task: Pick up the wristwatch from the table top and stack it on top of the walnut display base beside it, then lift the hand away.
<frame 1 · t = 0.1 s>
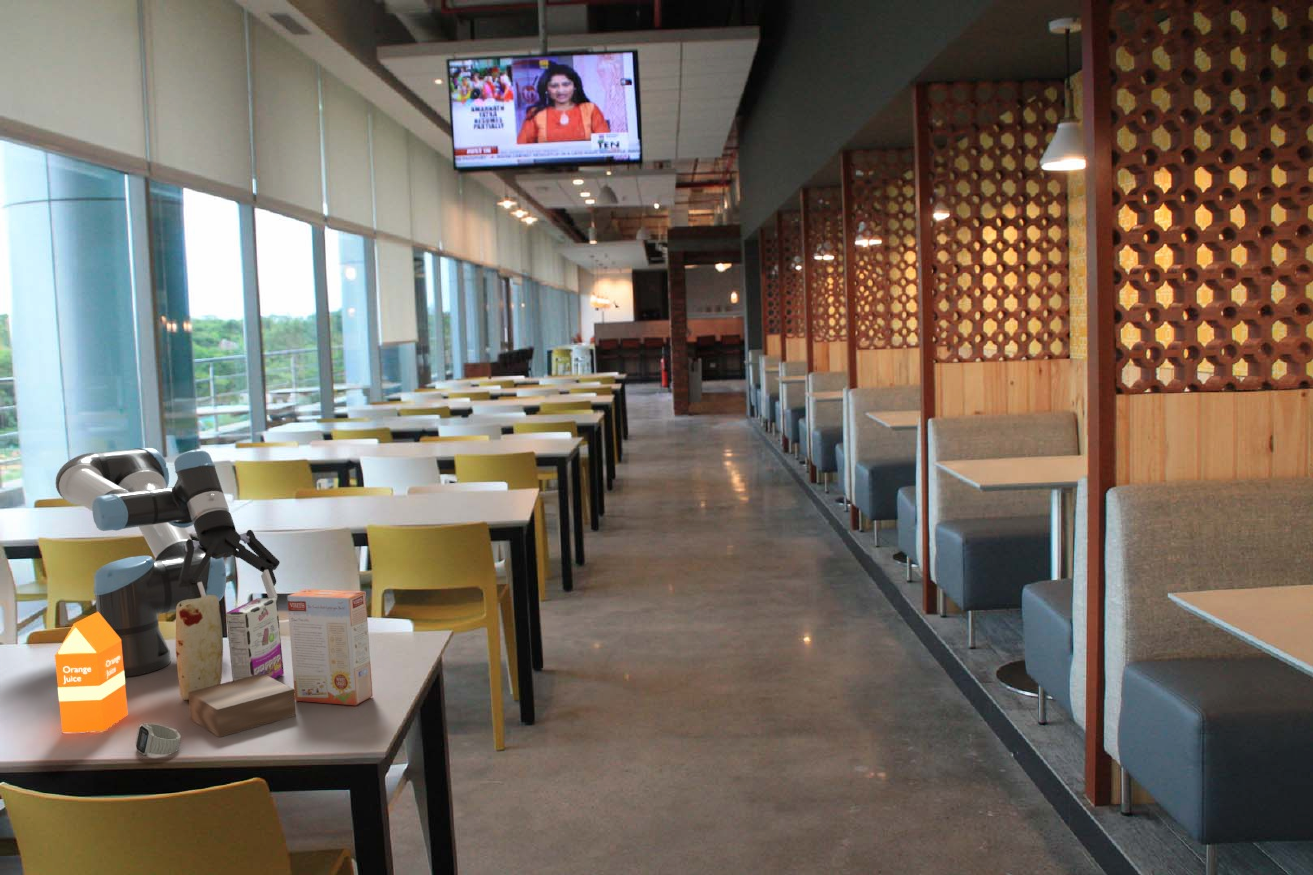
hand: (241, 606, 214), 15 cm above the table, tool tilted 35°, fingers open, 13 cm apart
walnut base: (243, 716, 194), on the table
orange juice: (96, 724, 194), on the table
wristwatch: (159, 750, 180), on the table
cracker box: (334, 700, 202), on the table
candy bar box: (258, 684, 213), on the table
food model: (201, 696, 207), on the table, touching gripper
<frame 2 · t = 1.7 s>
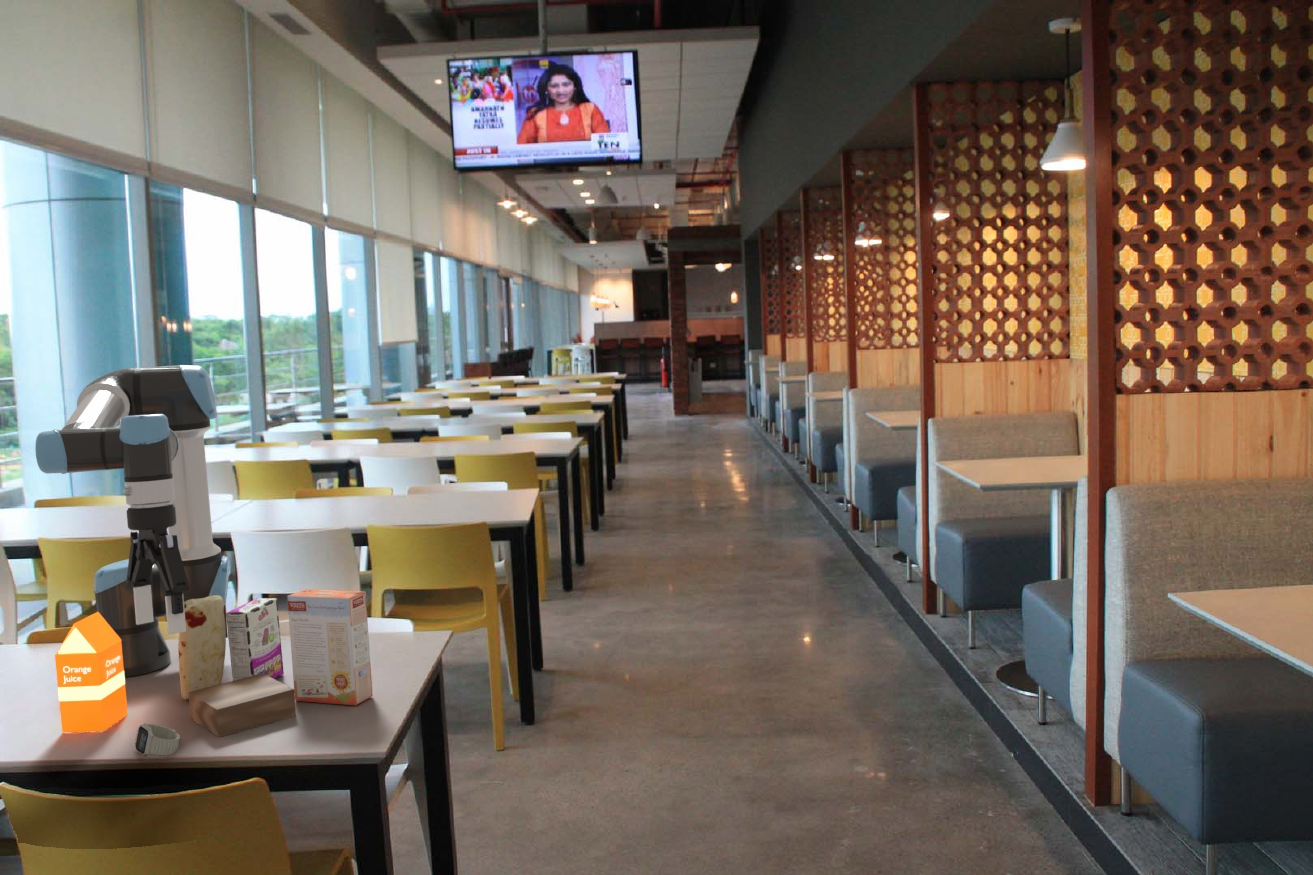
hand: (160, 627, 181), 20 cm above the table, tool pointing down, fingers open, 13 cm apart
food model: (202, 695, 207), on the table
everything else where it was.
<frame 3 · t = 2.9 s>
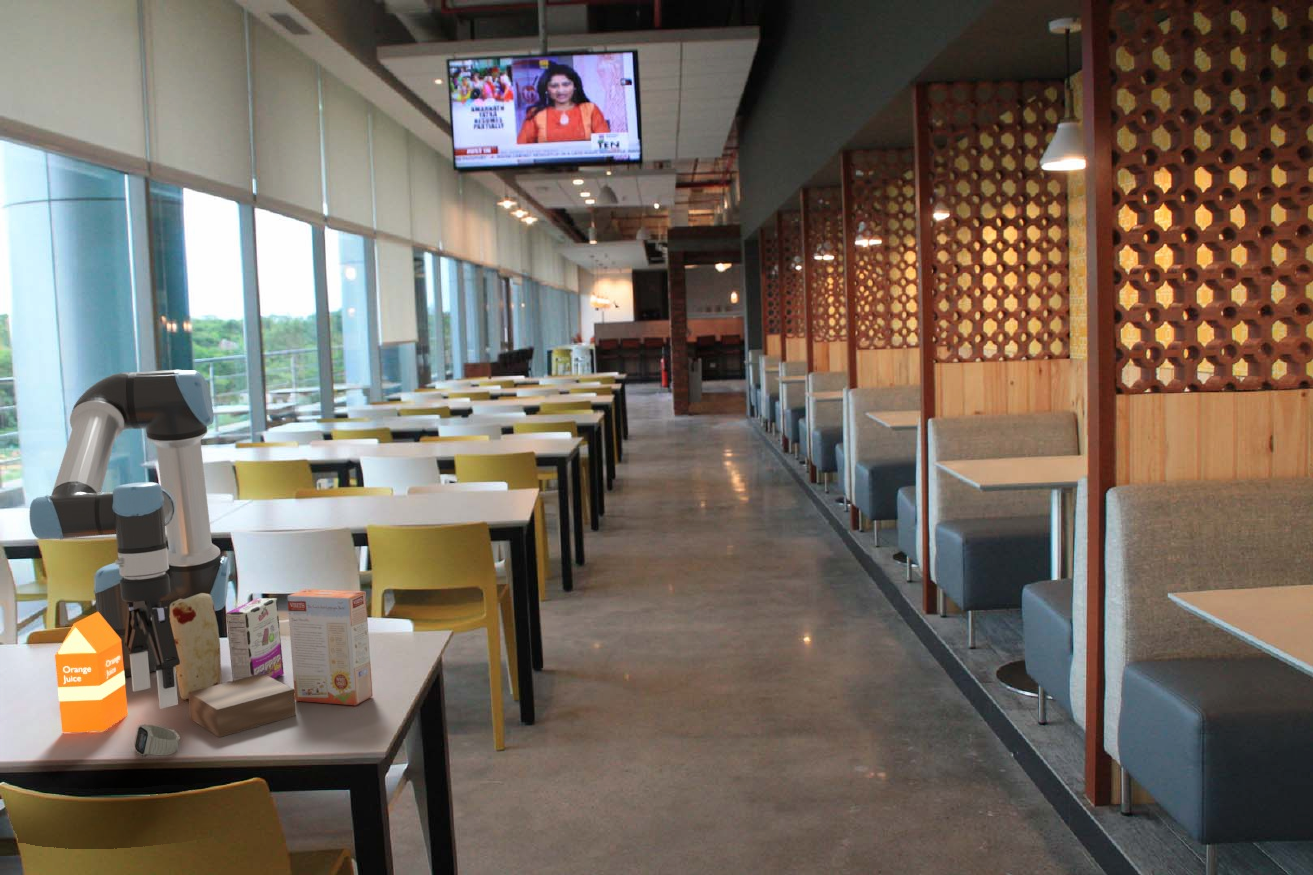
hand: (154, 697, 179), 9 cm above the table, tool pointing down, fingers open, 13 cm apart
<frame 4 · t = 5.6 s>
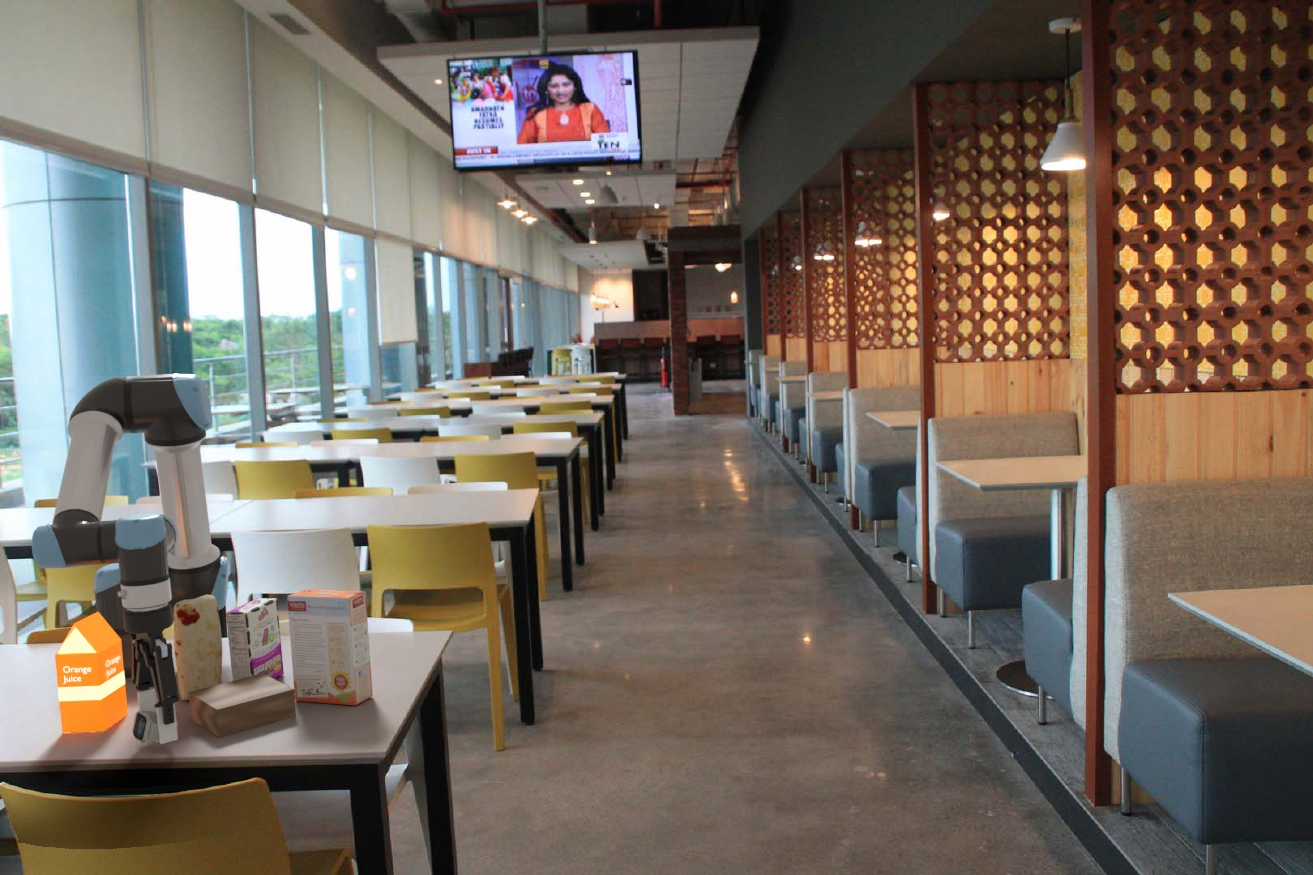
hand: (158, 733, 180), 2 cm above the table, tool pointing down, fingers closed on wristwatch, 9 cm apart
wristwatch: (156, 737, 180), point 2 cm above the table, touching gripper
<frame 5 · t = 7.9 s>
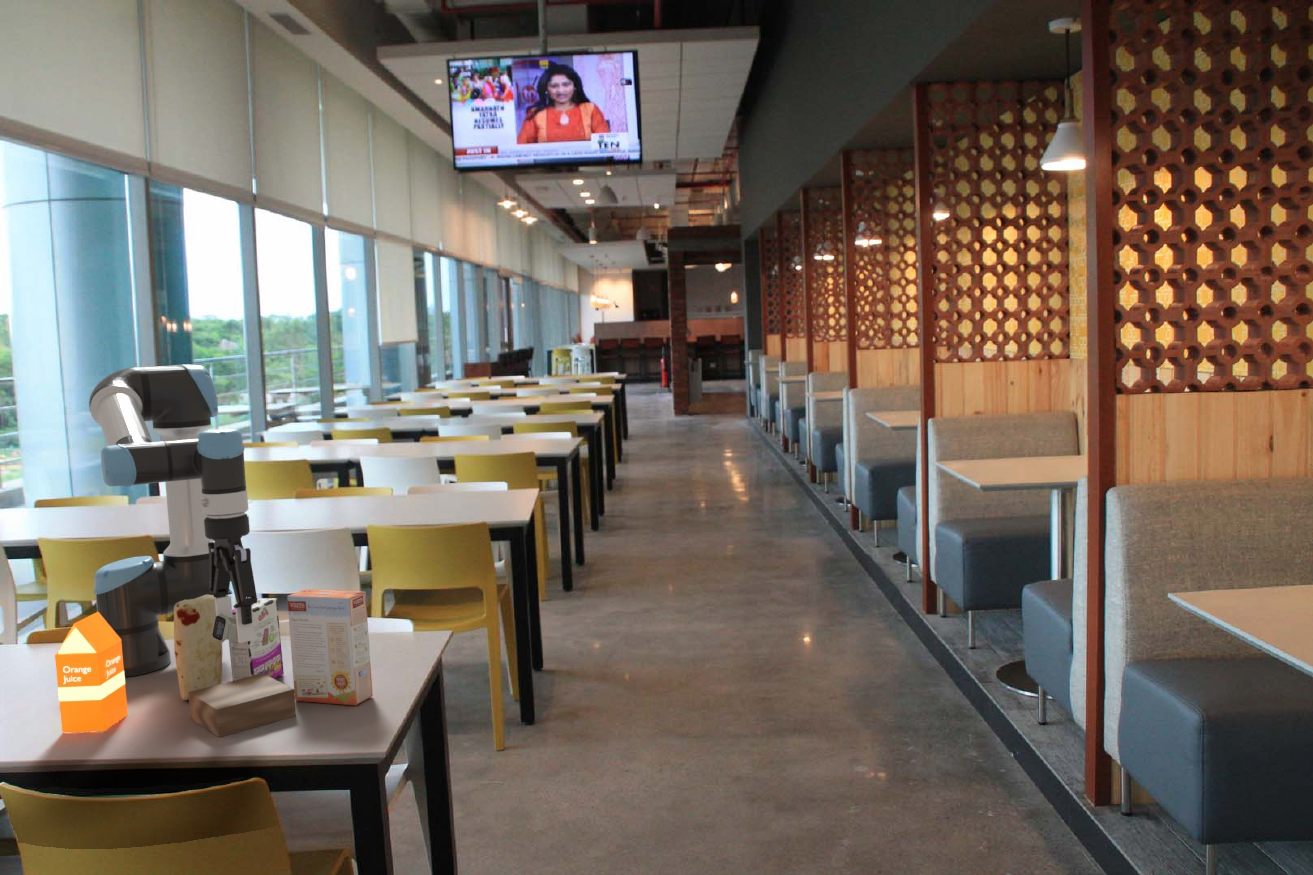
hand: (235, 636, 193), 15 cm above the table, tool pointing down, fingers closed on wristwatch, 9 cm apart
wristwatch: (233, 639, 192), point 15 cm above the table, touching gripper
when the fingers open (6 cm above the table, at t = 10.5 s): wristwatch stays where it is, resting on walnut base.
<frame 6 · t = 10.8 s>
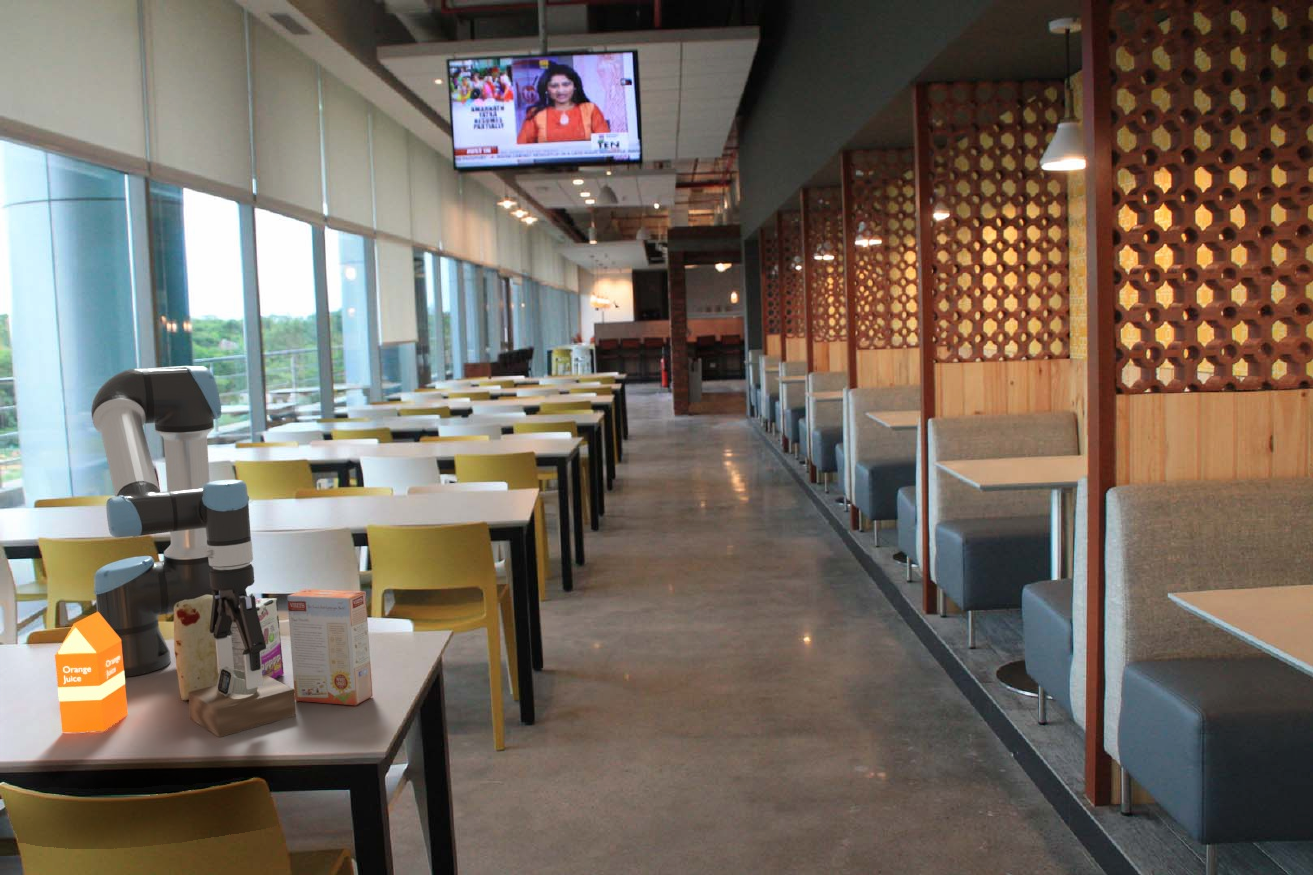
hand: (240, 679, 193), 7 cm above the table, tool pointing down, fingers open, 13 cm apart
wristwatch: (239, 692, 193), point 5 cm above the table, touching walnut base
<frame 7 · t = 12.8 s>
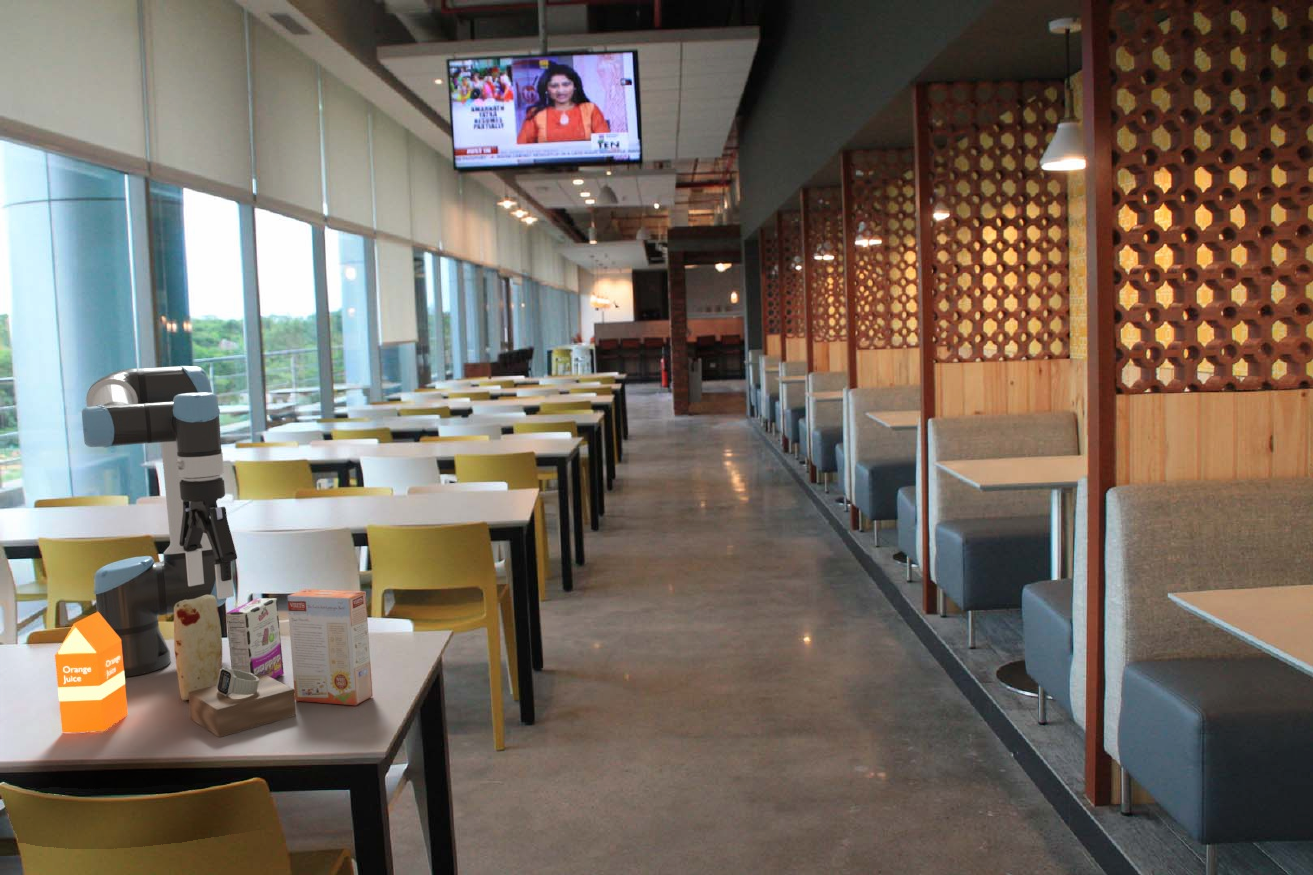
hand: (210, 591, 194), 23 cm above the table, tool pointing down, fingers open, 13 cm apart
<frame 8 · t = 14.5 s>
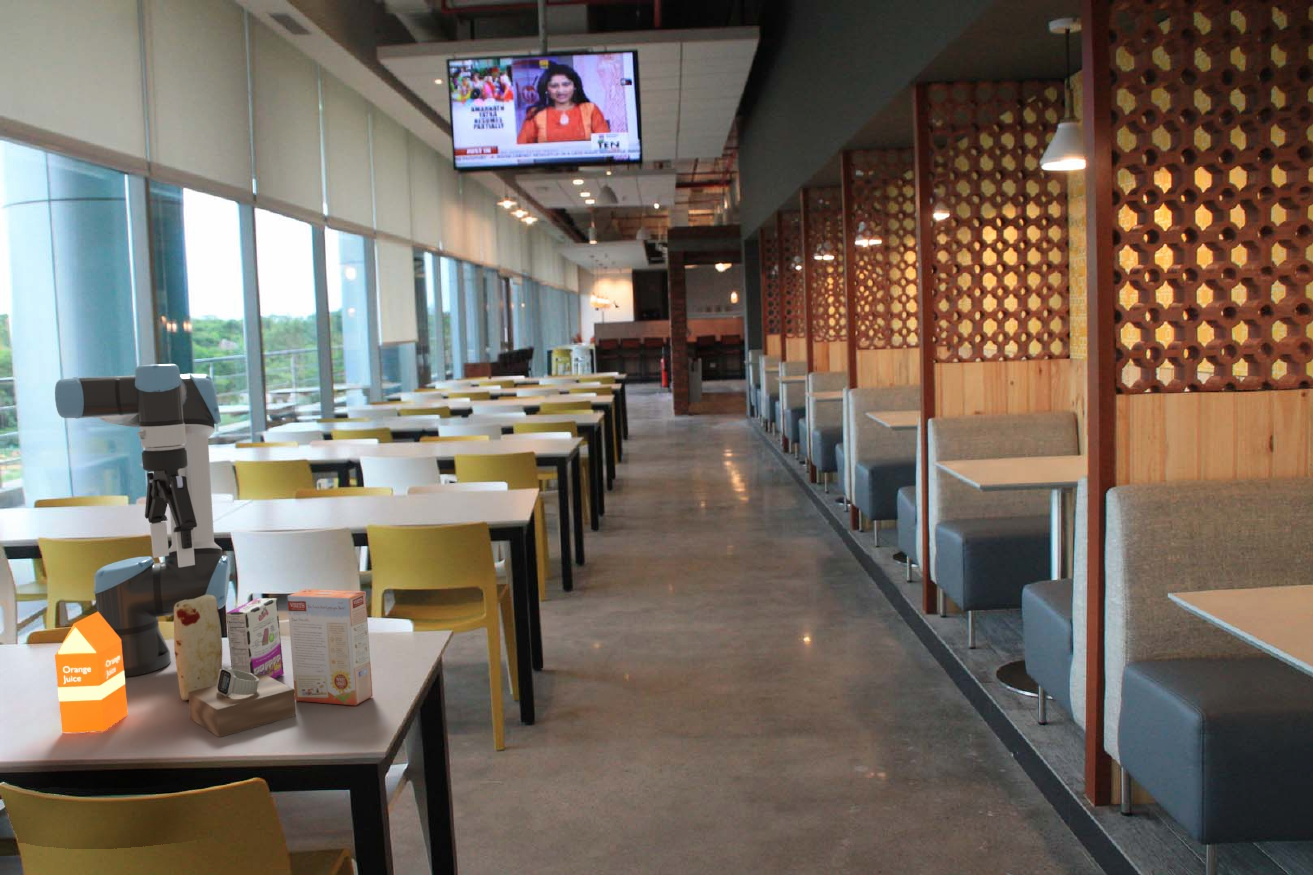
hand: (173, 561, 196), 29 cm above the table, tool pointing down, fingers open, 13 cm apart
at the end: wristwatch inside the target area on the walnut base (0.4 cm from its centre), point 4.8 cm above the walnut base's base; wristwatch touching walnut base; the gripper is holding nothing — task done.
